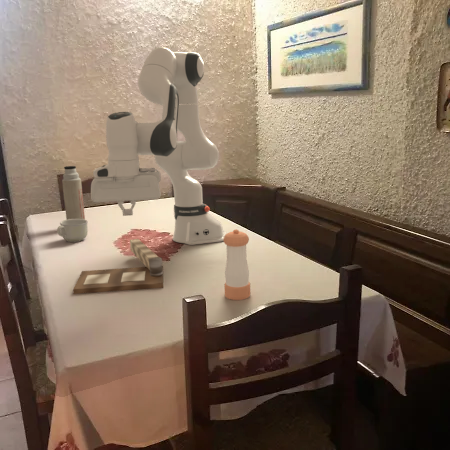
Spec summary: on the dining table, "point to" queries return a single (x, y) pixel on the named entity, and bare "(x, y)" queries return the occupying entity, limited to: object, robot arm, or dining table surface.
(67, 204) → the thermos bottle
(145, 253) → the swing bar
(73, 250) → the dining table surface
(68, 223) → the teacup
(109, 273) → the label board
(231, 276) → the pepper shaker
